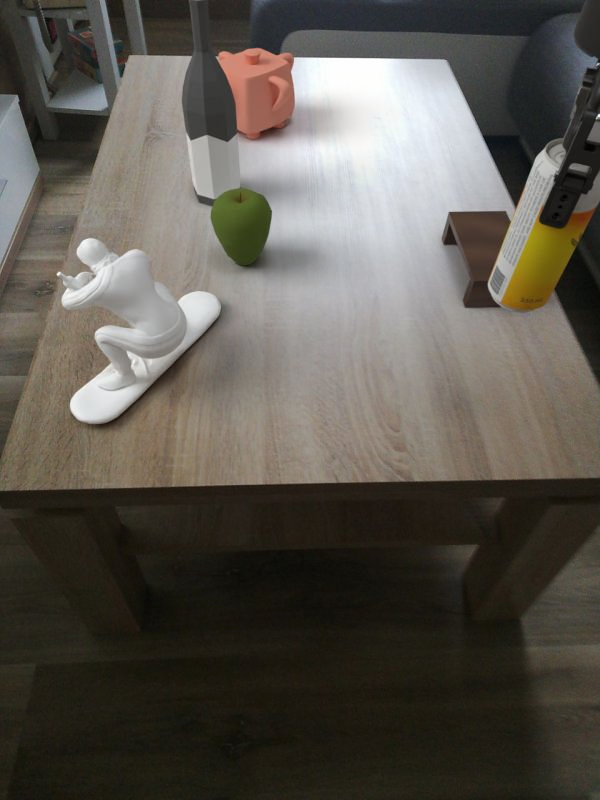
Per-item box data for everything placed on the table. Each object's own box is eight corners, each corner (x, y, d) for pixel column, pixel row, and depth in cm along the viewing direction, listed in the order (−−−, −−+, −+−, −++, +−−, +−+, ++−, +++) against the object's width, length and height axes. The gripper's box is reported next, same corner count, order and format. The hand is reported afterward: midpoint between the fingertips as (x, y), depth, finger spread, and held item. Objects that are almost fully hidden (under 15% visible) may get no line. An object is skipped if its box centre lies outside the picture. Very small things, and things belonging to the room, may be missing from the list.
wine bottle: (243, 181, 98) (231, -25, 74) (239, 208, 93) (224, -4, 70) (197, 179, 98) (170, -28, 74) (190, 206, 93) (159, -6, 70)
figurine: (173, 283, 82) (152, 177, 68) (245, 317, 78) (237, 211, 64) (38, 400, 68) (-21, 297, 55) (118, 448, 64) (75, 349, 51)
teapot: (293, 106, 116) (294, 34, 105) (295, 145, 106) (296, 71, 96) (212, 105, 115) (205, 33, 105) (206, 145, 105) (198, 70, 95)
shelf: (525, 306, 81) (538, 279, 77) (465, 307, 80) (474, 280, 76) (495, 237, 90) (505, 210, 86) (441, 238, 90) (448, 211, 86)
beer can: (558, 307, 56) (635, 167, 44) (508, 322, 54) (572, 181, 42) (522, 270, 59) (584, 130, 47) (473, 283, 58) (524, 142, 46)
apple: (272, 242, 88) (271, 174, 79) (272, 278, 83) (271, 210, 74) (217, 242, 88) (209, 174, 79) (214, 277, 83) (205, 209, 74)
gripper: (732, 16, 30) (592, 264, 43) (726, -55, 38) (609, 173, 52) (588, -9, 32) (496, 237, 45) (612, -72, 40) (528, 153, 53)
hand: (557, 202), depth 48 cm, fingers closed on beer can, 6 cm apart
